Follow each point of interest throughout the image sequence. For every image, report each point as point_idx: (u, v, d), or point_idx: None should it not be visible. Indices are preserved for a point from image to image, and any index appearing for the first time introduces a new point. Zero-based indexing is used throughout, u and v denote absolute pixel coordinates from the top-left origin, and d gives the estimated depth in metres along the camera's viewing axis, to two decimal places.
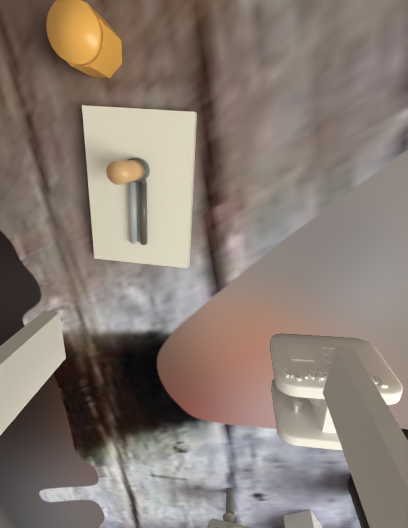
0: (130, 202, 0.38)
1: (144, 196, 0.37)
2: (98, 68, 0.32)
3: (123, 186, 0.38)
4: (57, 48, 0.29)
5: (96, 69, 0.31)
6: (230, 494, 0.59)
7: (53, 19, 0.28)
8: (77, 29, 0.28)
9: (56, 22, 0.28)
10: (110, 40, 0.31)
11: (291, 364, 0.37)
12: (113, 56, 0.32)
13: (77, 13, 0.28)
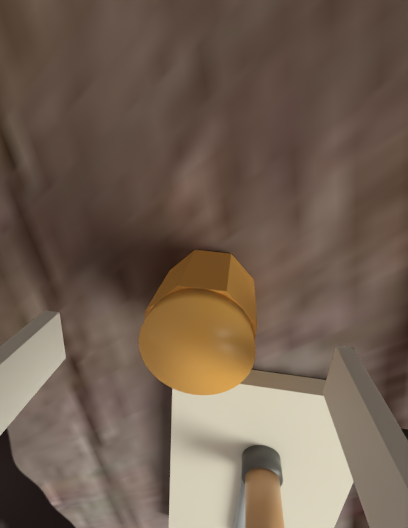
0: (243, 502, 0.23)
1: None
2: None
3: (230, 472, 0.23)
4: (158, 370, 0.14)
5: None
6: None
7: (156, 329, 0.13)
8: (207, 349, 0.13)
9: (162, 334, 0.13)
10: None
11: None
12: None
13: (212, 326, 0.12)
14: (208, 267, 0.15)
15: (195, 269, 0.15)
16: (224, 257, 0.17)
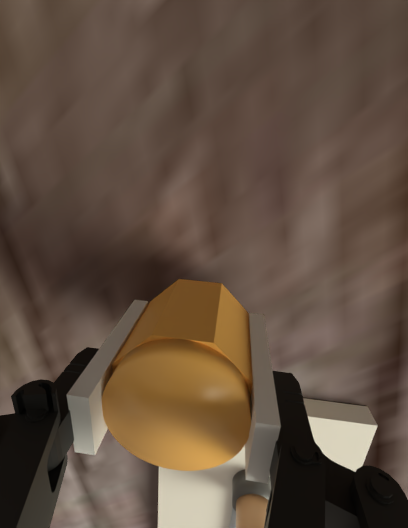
0: None
1: None
2: None
3: (220, 497, 0.22)
4: (128, 441, 0.11)
5: None
6: None
7: (122, 392, 0.10)
8: (189, 418, 0.10)
9: (130, 399, 0.10)
10: None
11: None
12: None
13: (195, 391, 0.10)
14: (192, 305, 0.12)
15: (176, 308, 0.12)
16: (213, 289, 0.14)
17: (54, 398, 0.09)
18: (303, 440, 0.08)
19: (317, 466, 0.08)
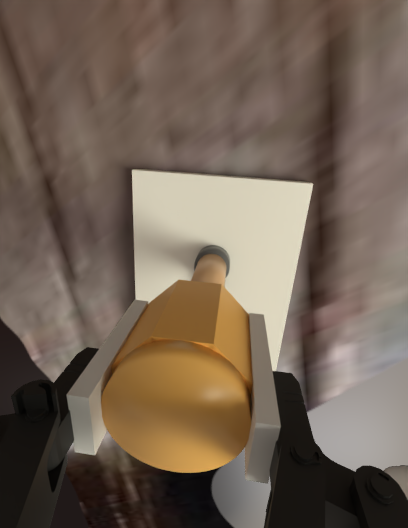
0: None
1: None
2: None
3: None
4: (127, 442, 0.11)
5: None
6: None
7: (122, 394, 0.10)
8: (189, 420, 0.10)
9: (130, 400, 0.10)
10: None
11: None
12: None
13: (194, 392, 0.10)
14: (192, 306, 0.12)
15: (176, 309, 0.12)
16: (213, 290, 0.14)
17: (54, 398, 0.09)
18: (303, 440, 0.08)
19: (317, 466, 0.08)
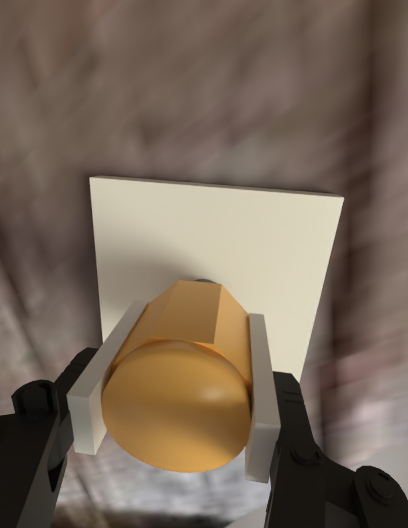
0: None
1: None
2: None
3: None
4: (127, 442, 0.11)
5: None
6: None
7: (122, 394, 0.10)
8: (189, 420, 0.10)
9: (130, 400, 0.10)
10: None
11: None
12: None
13: (194, 392, 0.10)
14: (192, 306, 0.12)
15: (176, 309, 0.12)
16: (213, 290, 0.14)
17: (54, 398, 0.09)
18: (303, 440, 0.08)
19: (317, 466, 0.08)
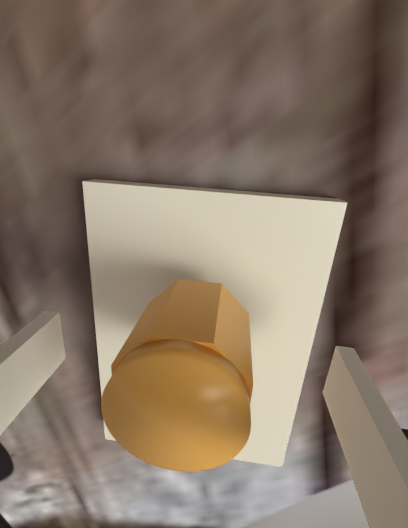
0: None
1: None
2: None
3: None
4: (127, 441, 0.11)
5: None
6: None
7: (122, 393, 0.10)
8: (189, 419, 0.10)
9: (130, 399, 0.10)
10: None
11: None
12: None
13: (194, 392, 0.10)
14: (192, 305, 0.12)
15: (176, 308, 0.12)
16: (213, 289, 0.14)
17: None
18: None
19: None
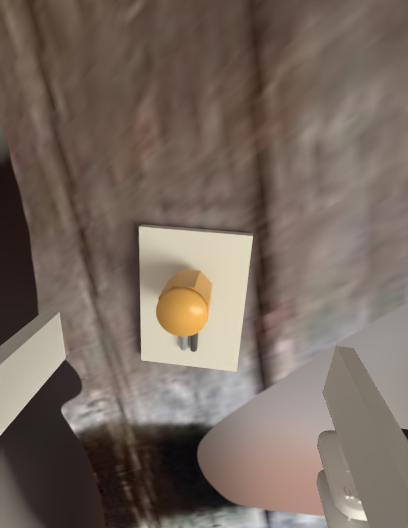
0: None
1: None
2: None
3: None
4: (164, 325, 0.30)
5: None
6: None
7: (163, 304, 0.29)
8: (186, 313, 0.30)
9: (166, 307, 0.30)
10: (209, 302, 0.32)
11: (347, 478, 0.37)
12: (209, 309, 0.33)
13: (188, 302, 0.29)
14: (187, 277, 0.32)
15: (181, 278, 0.32)
16: (196, 272, 0.34)
17: None
18: None
19: None
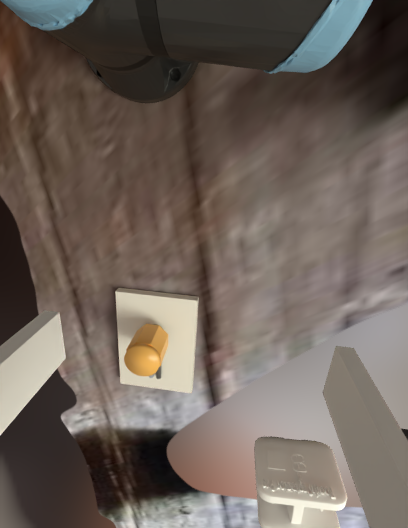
0: None
1: None
2: None
3: None
4: (130, 368, 0.43)
5: None
6: None
7: (129, 355, 0.43)
8: (145, 361, 0.43)
9: (131, 357, 0.43)
10: (163, 351, 0.45)
11: (268, 473, 0.51)
12: (164, 354, 0.46)
13: (145, 355, 0.42)
14: (148, 333, 0.45)
15: (143, 334, 0.45)
16: (155, 327, 0.47)
17: None
18: None
19: None
